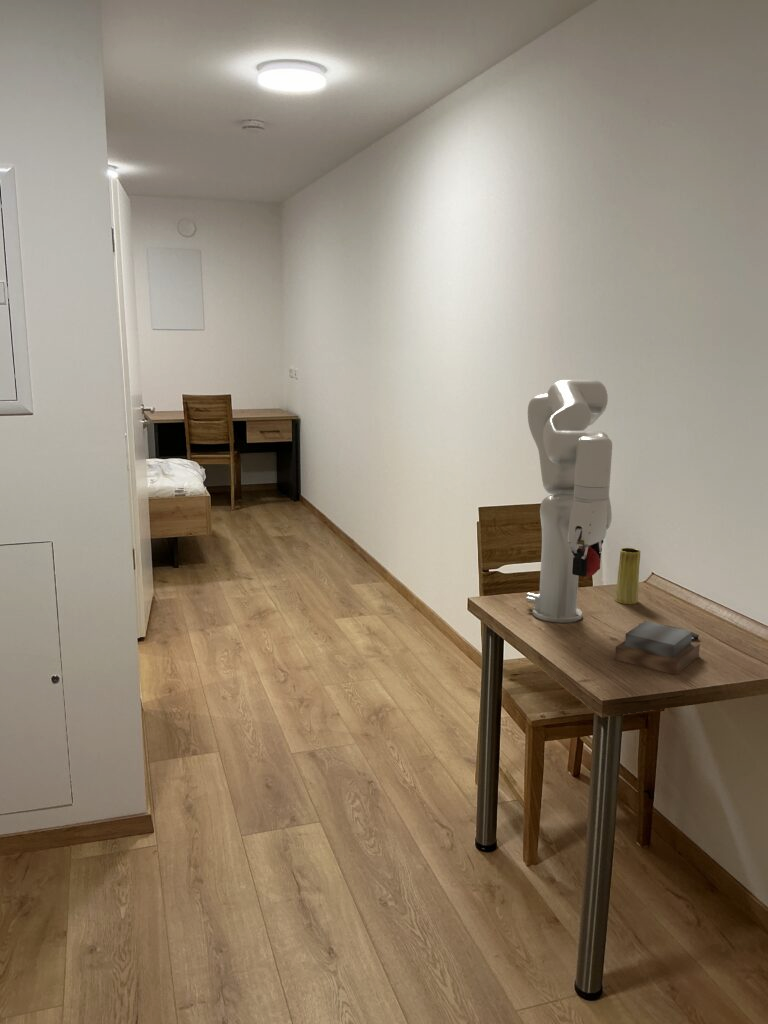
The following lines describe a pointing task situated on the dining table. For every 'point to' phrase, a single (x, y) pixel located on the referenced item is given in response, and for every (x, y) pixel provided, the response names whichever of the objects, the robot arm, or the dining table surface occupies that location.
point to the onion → (592, 562)
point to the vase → (628, 576)
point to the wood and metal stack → (658, 648)
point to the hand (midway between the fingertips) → (586, 571)
